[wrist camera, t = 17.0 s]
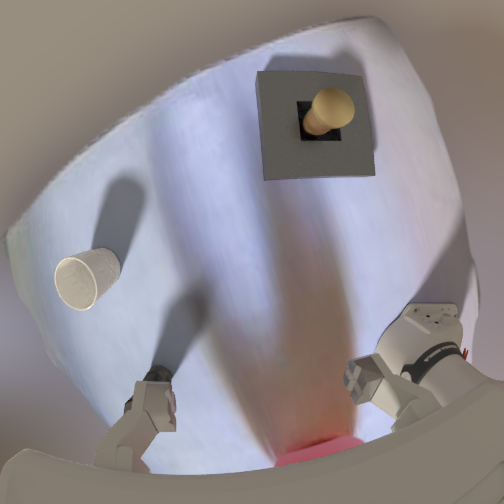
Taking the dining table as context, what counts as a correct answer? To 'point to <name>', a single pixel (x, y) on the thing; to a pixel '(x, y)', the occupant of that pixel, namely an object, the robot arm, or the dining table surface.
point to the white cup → (86, 277)
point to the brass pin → (326, 113)
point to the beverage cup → (153, 375)
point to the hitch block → (288, 132)
